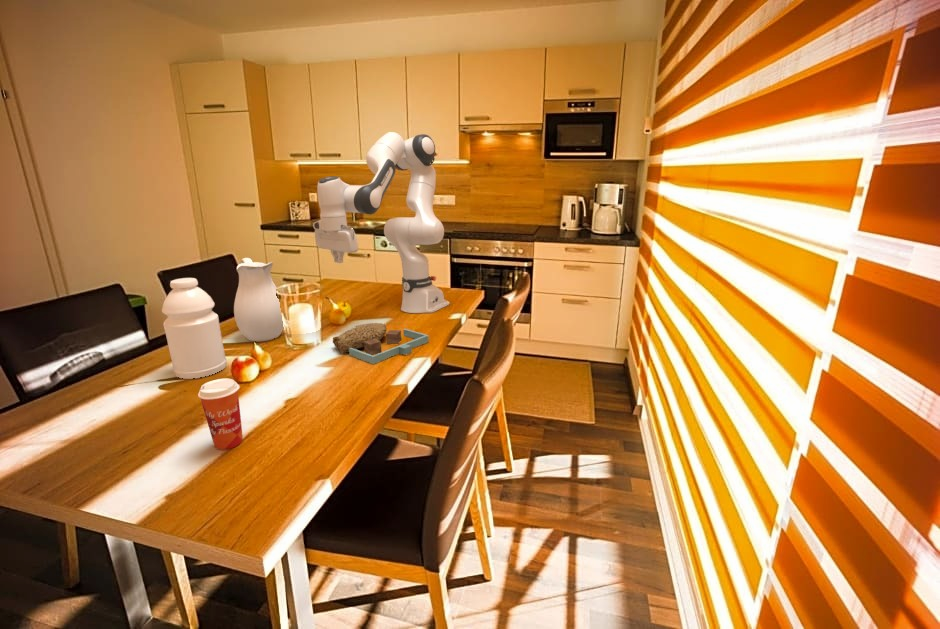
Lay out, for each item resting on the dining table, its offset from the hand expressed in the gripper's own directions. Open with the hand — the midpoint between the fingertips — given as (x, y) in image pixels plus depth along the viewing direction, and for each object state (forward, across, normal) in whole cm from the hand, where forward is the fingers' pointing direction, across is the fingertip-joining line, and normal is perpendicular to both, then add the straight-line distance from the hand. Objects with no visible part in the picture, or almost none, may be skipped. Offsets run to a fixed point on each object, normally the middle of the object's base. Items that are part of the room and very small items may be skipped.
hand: (338, 262), depth 167 cm
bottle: (+24, +3, +51) cm, 57 cm away
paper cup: (+23, -43, +65) cm, 82 cm away
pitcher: (+25, +20, +23) cm, 39 cm away
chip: (+25, -28, +11) cm, 39 cm away
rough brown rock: (+25, -19, +8) cm, 33 cm away
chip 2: (+25, -27, 0) cm, 37 cm away
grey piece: (+25, -31, +5) cm, 40 cm away
